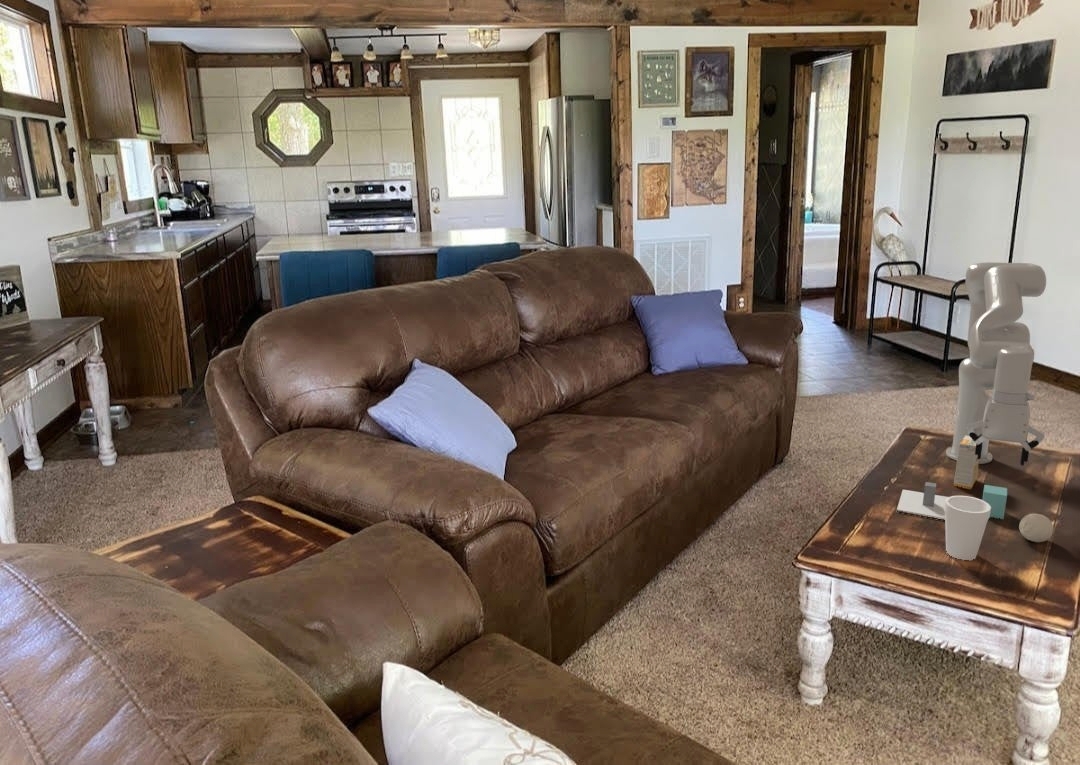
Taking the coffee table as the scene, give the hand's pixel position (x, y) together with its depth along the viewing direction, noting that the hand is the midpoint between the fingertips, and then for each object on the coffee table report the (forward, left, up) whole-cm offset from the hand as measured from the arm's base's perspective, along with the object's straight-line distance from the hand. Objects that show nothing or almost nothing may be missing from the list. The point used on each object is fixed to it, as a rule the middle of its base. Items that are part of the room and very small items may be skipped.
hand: (1000, 460), depth 202 cm
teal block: (0, 0, -15) cm, 15 cm away
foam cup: (+27, -6, -15) cm, 31 cm away
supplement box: (-18, -7, -15) cm, 25 cm away
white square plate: (+3, -15, -15) cm, 21 cm away
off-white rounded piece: (+12, +9, -15) cm, 21 cm away
